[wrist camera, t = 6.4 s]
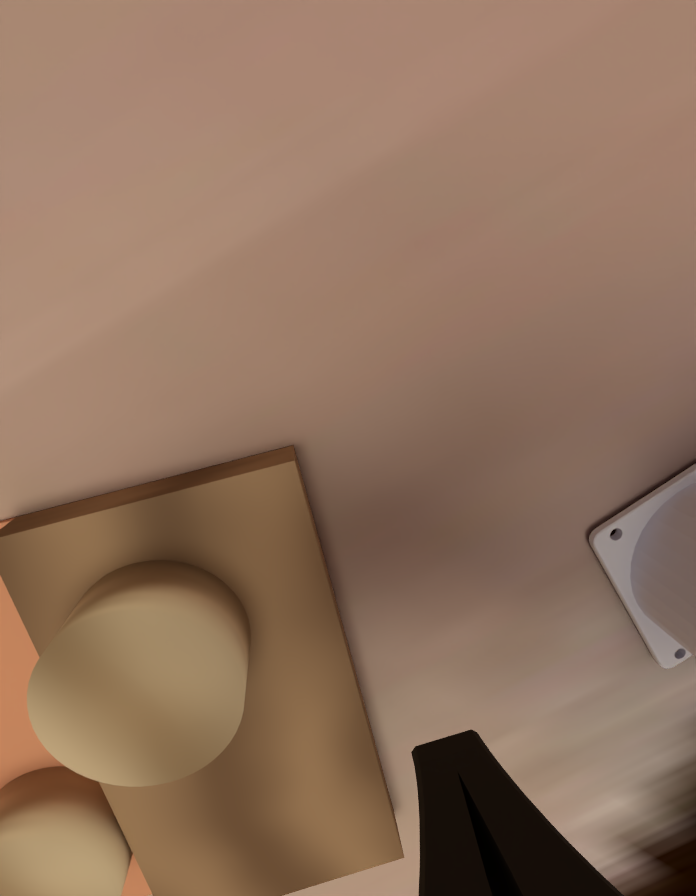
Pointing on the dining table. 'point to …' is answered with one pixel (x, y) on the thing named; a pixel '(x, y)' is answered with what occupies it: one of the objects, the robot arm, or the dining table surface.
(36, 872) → the coaster
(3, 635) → the mat
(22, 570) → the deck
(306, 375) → the dining table surface
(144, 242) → the dining table surface
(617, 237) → the dining table surface
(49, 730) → the coaster
